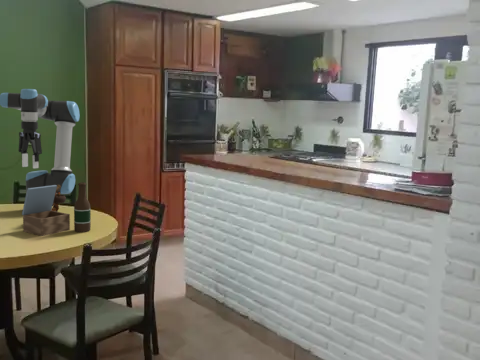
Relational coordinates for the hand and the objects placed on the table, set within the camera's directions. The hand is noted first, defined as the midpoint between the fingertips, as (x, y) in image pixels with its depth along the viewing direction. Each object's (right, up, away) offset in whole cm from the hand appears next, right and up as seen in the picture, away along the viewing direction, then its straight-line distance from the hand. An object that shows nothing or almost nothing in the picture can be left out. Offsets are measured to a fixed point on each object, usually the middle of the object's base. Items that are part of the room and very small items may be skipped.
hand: (30, 167), depth 247 cm
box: (+9, -31, -2) cm, 32 cm away
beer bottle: (+26, -32, +1) cm, 41 cm away
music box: (+6, -29, +17) cm, 34 cm away
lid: (+6, -16, -2) cm, 17 cm away
